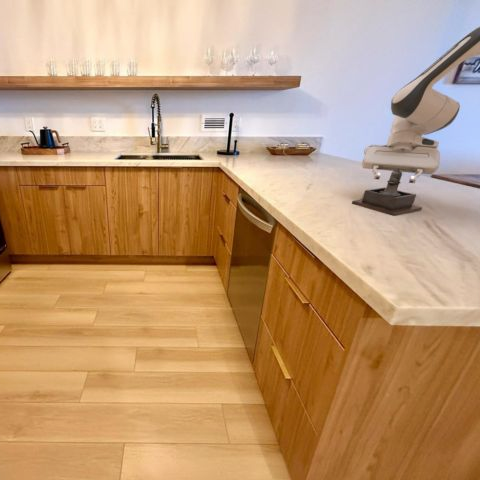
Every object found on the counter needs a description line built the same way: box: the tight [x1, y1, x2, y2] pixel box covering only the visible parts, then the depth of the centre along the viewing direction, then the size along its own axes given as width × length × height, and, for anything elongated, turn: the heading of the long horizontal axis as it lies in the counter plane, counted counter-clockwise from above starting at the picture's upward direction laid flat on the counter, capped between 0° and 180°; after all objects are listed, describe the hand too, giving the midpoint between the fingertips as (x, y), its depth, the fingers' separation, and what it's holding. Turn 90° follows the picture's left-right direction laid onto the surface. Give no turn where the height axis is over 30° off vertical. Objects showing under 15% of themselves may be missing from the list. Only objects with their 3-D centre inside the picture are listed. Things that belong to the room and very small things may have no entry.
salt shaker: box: [379, 168, 403, 197], centre depth 95 cm, size 6×6×12 cm
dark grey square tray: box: [351, 187, 423, 217], centre depth 96 cm, size 14×14×5 cm
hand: (393, 180), depth 95 cm, fingers open, 8 cm apart
